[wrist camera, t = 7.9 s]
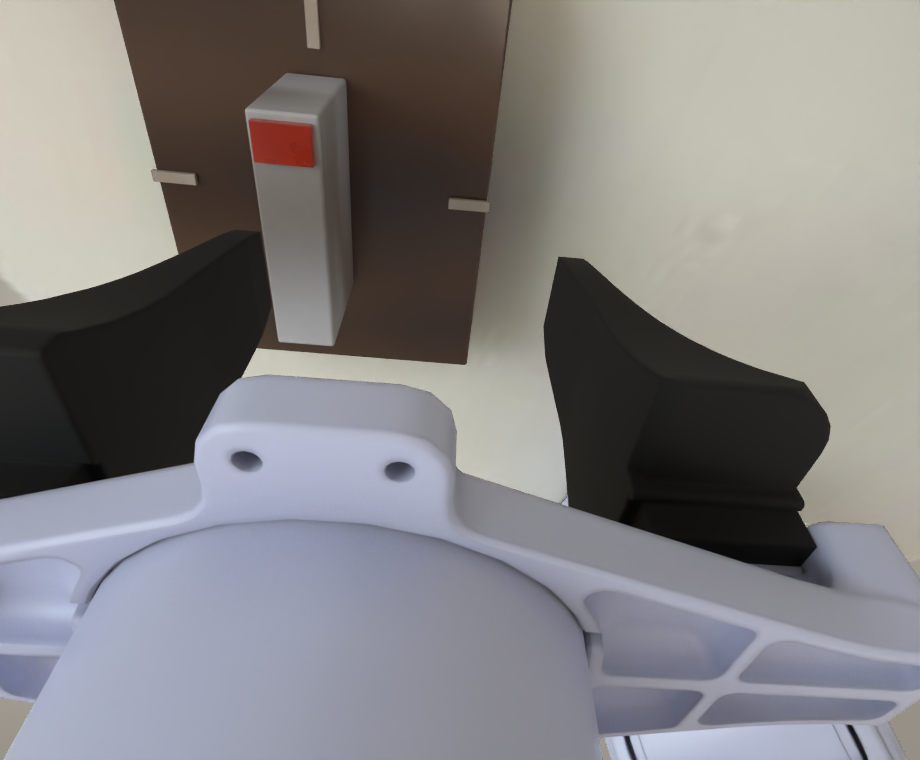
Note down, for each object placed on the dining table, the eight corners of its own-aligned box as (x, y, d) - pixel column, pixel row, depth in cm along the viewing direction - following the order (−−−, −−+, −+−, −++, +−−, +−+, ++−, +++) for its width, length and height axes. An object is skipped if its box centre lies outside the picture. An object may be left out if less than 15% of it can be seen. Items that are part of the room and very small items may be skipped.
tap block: (468, 325, 26) (468, 368, 23) (222, 304, 25) (196, 346, 23) (515, -57, 17) (523, -53, 14) (136, -101, 16) (78, -104, 14)
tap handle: (354, 284, 21) (332, 352, 18) (305, 280, 21) (275, 347, 18) (346, 78, 17) (316, 118, 13) (285, 71, 16) (239, 110, 13)
